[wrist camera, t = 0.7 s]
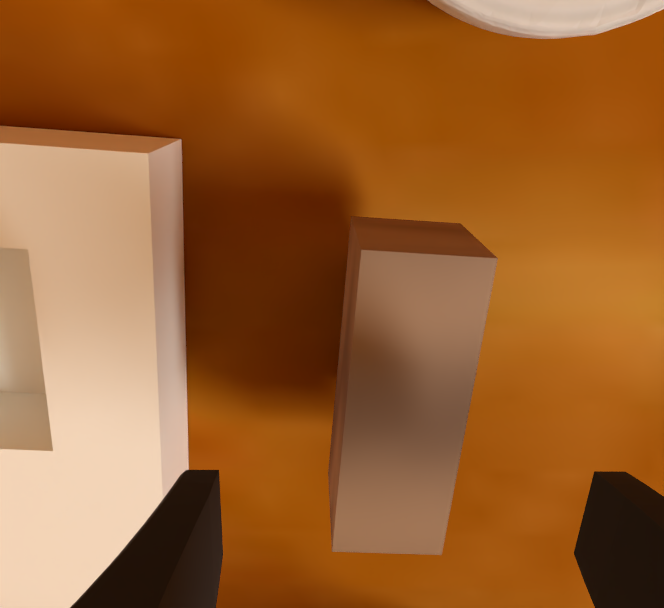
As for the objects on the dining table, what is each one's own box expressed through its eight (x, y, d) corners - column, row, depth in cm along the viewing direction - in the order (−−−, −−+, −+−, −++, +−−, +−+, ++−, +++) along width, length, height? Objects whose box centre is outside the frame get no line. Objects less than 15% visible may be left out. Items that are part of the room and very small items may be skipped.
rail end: (406, 427, 22) (441, 554, 16) (325, 424, 22) (332, 551, 16) (438, 203, 19) (497, 258, 13) (345, 196, 19) (361, 250, 13)
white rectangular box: (190, 565, 25) (169, 651, 21) (-47, 558, 24) (-113, 646, 20) (181, 138, 18) (148, 153, 14) (-145, 114, 17) (-268, 123, 14)
